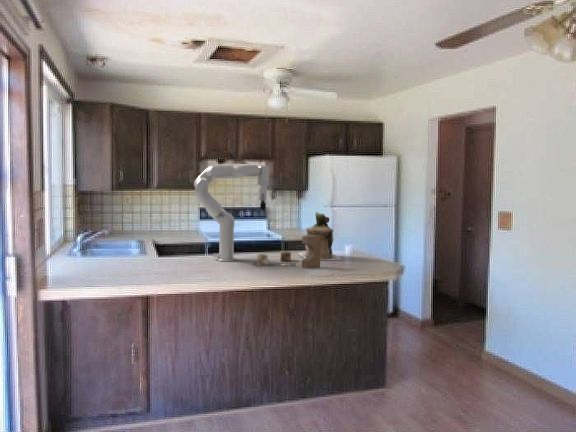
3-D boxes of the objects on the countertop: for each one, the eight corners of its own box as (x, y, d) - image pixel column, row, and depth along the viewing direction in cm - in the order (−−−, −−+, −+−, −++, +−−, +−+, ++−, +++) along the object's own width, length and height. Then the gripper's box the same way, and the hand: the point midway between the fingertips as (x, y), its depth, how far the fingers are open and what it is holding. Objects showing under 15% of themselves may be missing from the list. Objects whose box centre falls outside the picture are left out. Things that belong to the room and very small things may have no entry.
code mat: (251, 266, 312) (251, 265, 312) (253, 262, 324) (253, 262, 324) (296, 266, 312) (296, 266, 312) (295, 263, 324) (295, 262, 324)
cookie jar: (307, 261, 330) (308, 214, 327) (297, 255, 354) (298, 211, 351) (342, 260, 336) (343, 213, 333) (330, 254, 360) (330, 210, 357)
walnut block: (280, 261, 328) (280, 253, 328) (281, 260, 335) (281, 251, 334) (290, 262, 328) (290, 253, 328) (290, 260, 335) (290, 251, 334)
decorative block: (307, 268, 305) (307, 236, 303) (301, 267, 310) (301, 235, 308) (320, 267, 312) (321, 235, 310) (315, 265, 316) (315, 234, 315)
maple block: (257, 265, 314) (257, 255, 314) (257, 263, 321) (257, 254, 320) (267, 265, 314) (267, 255, 314) (267, 263, 321) (267, 254, 320)
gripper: (258, 183, 345) (258, 207, 346) (256, 184, 327) (256, 209, 329) (269, 183, 345) (269, 207, 346) (268, 184, 327) (268, 209, 329)
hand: (263, 208), depth 337 cm, fingers open, 9 cm apart
